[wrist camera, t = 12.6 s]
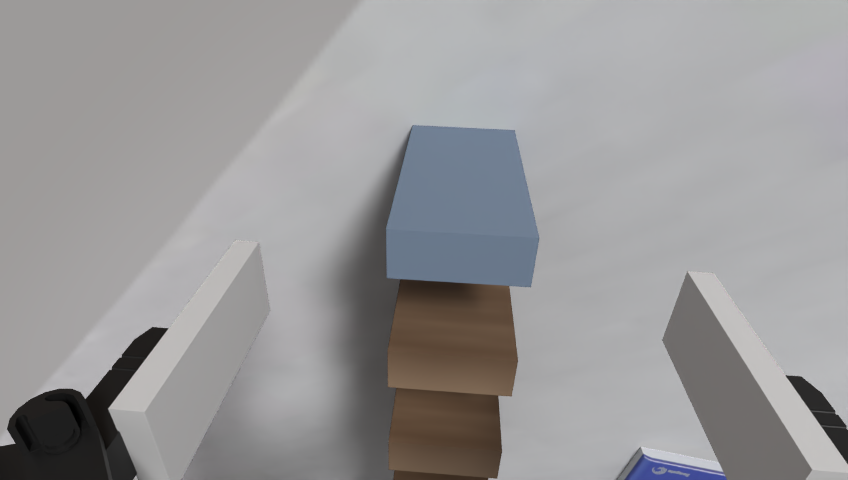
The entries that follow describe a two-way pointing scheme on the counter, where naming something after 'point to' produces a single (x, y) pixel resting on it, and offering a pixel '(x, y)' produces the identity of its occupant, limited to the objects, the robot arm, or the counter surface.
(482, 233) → the end domino
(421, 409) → the domino
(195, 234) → the counter surface
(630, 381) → the counter surface
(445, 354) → the domino
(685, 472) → the hard drive
